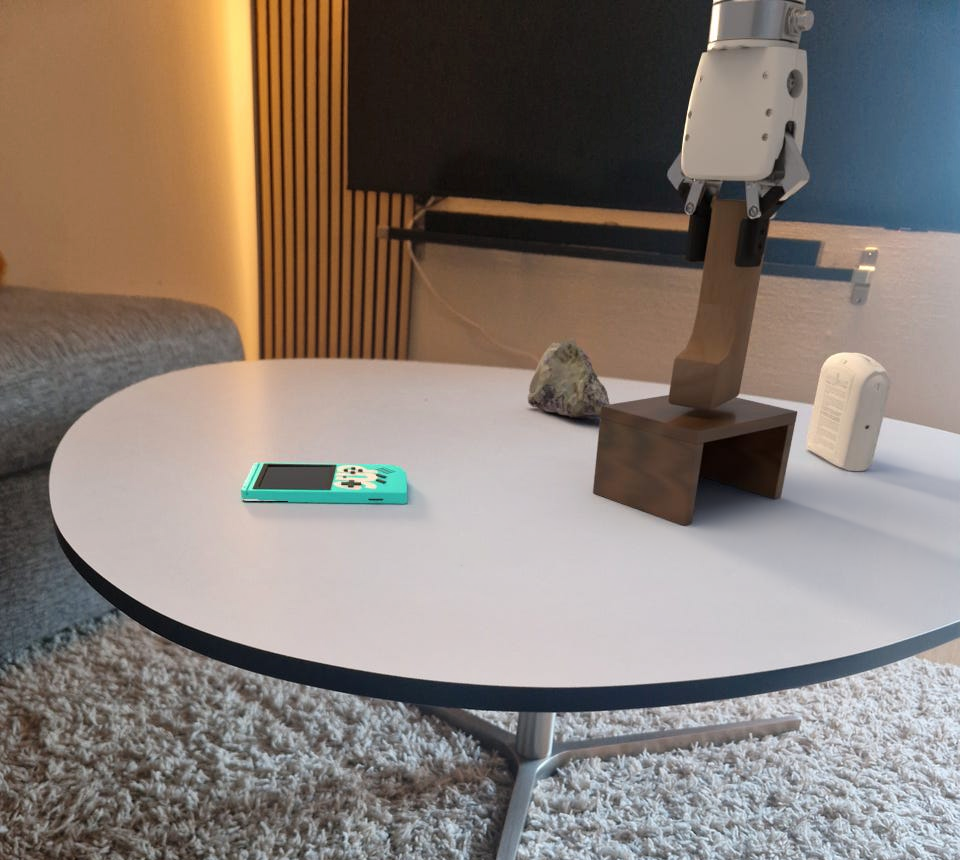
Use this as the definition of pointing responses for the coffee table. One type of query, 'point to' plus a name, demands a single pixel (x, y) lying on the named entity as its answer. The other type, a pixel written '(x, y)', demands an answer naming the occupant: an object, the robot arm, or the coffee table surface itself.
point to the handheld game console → (326, 483)
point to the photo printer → (848, 410)
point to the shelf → (689, 452)
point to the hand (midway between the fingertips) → (722, 261)
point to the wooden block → (718, 318)
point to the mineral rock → (567, 383)
